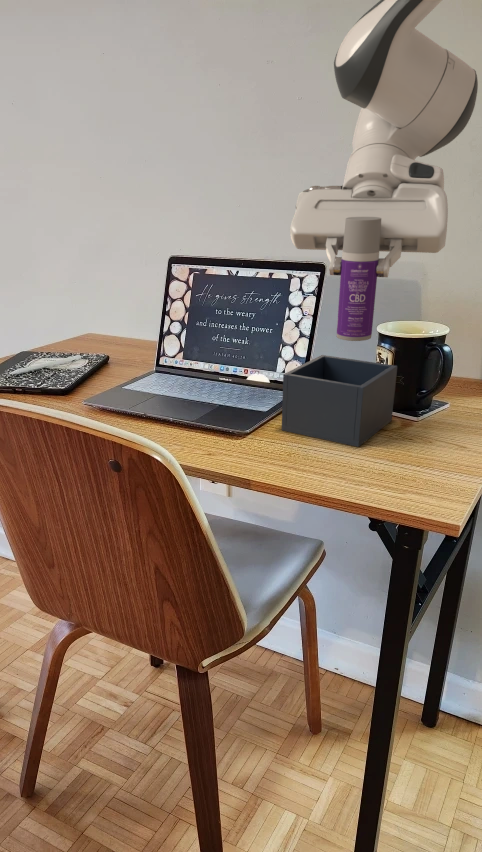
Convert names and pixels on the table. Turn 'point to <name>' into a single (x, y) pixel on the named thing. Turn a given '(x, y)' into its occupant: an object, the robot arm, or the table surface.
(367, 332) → the container
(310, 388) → the bin
